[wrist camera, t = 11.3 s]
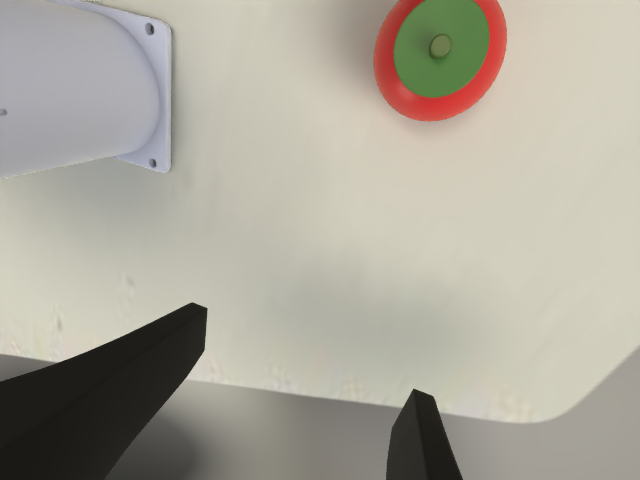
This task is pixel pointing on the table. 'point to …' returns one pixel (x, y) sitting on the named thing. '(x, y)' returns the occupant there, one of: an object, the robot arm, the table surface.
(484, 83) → the tomato
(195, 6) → the table surface
